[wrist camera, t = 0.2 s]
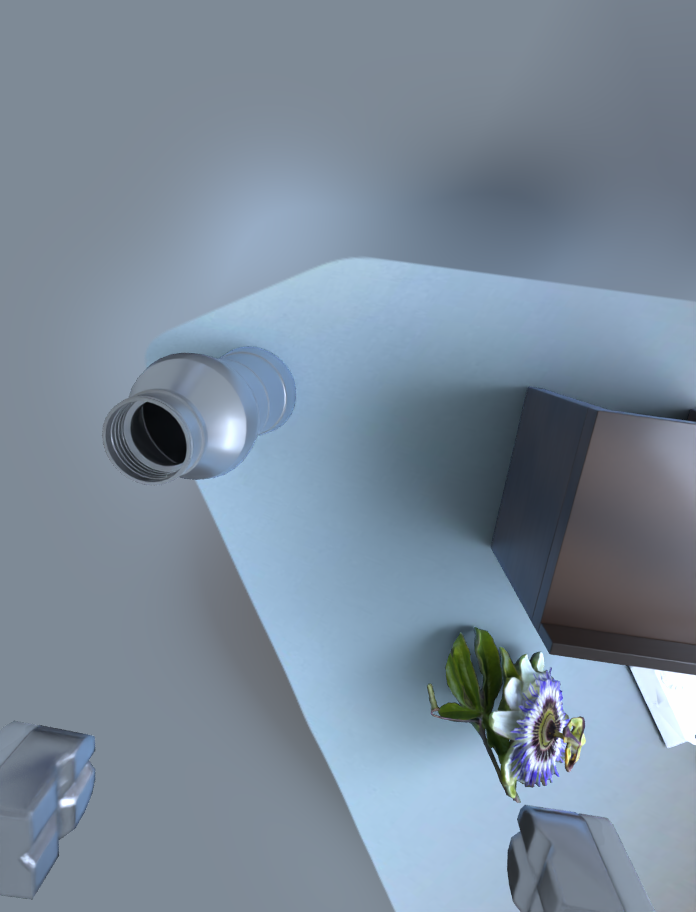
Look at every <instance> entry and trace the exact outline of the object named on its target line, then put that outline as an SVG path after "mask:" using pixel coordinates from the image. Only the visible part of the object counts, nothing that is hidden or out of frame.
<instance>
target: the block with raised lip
mask: <svg viewBox="0 0 696 912" xmlns="http://www.w3.org/2000/svg"><path fill="white" fill-rule="evenodd" d="M491 549H492V551H493V553H494V554H495V556H496V558H497V560H498V562H499V564H500V565H501V567H502V569H503V571H504V573H505V574H506V576H507V578H508V580H509V582H510V583H511V585H512V587H513V589H514V591H515V592H516V594H517V596H518V598H519V600H520V602H521V603H522V605H523V607H524V609H525V611H526V612H527V614H528V616H529V618H530V620H531V621H532V623H533V625H534V627H535V629H536V631H537V633H538V634H539V636H540V638H541V639H542V641H543V643H544V645H545V647H546V648H547V650H548V652H549V654H552V655H559V656H566V657H572V658H579V659H586V660H593V661H600V662H607V663H613V664H620V665H627V666H634V667H641V668H648V669H654V670H661V671H668V672H675V673H682V674H689V675H695V676H696V410H695V409H691V410H690V413H689V417H688V420H687V421H685V420H678V419H671V418H664V417H656V416H649V415H642V414H635V413H628V412H620V411H613V410H608V409H605V408H601V407H598V406H595V405H592V404H589V403H586V402H583V401H580V400H577V399H574V398H571V397H568V396H564V395H561V394H558V393H555V392H552V391H549V390H546V389H543V388H537V387H528V388H527V392H526V397H525V401H524V406H523V410H522V414H521V419H520V423H519V427H518V432H517V436H516V440H515V445H514V449H513V453H512V458H511V462H510V466H509V471H508V475H507V479H506V484H505V488H504V492H503V497H502V501H501V505H500V510H499V514H498V518H497V523H496V527H495V531H494V536H493V540H492V544H491Z"/></svg>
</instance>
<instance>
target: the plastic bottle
mask: <svg viewBox="0 0 696 912" xmlns="http://www.w3.org/2000/svg"><path fill="white" fill-rule="evenodd" d="M295 401H296V386H295V381H294V378H293V376H292V373H291V372H290V370H289V368H288V367H287V366H286V364H285V363H284V362H283V361H282V360H281V359H279V358H278V357H277V356H276V355H274V354H273V353H271V352H269V351H267V350H265V349H262V348H258V347H249V346H247V347H239V348H237V349H234V350H231V351H230V352H228V353H226V354H225V355H223V356H222V357H220V358H219V359H217V358H214V357H211V356H207V355H203V354H194V353H178V354H171V355H168V356H166V357H163V358H160V359H159V360H157V361H155V362H154V363H152V364H151V365H150V366H149V367H148V368H147V369H146V370H145V371H144V372H143V373H142V374H141V375H140V376H139V378H137V380H136V382H135V384H134V385H133V387H132V389H131V392H130V395H129V398H128V399H125V400H123V401H121V402H120V403H118V404H117V405H116V406H114V408H113V409H112V410H111V411H110V412H109V413H108V415H107V417H106V419H105V422H104V425H103V431H102V432H103V433H102V437H103V445H104V448H105V451H106V454H107V456H108V458H109V460H110V461H111V462H112V464H113V465H114V466H115V468H116V469H118V470H119V471H120V472H121V473H122V474H123V475H124V476H126V477H127V478H129V479H131V480H133V481H135V482H137V483H141V484H144V485H162V484H165V483H168V482H171V481H173V480H175V479H177V478H178V477H180V478H184V479H195V480H197V479H209V478H215V477H218V476H222V475H225V474H226V473H228V472H230V471H232V470H233V469H235V468H236V467H237V466H238V465H239V464H240V463H241V462H242V461H243V460H244V459H245V457H246V456H247V455H248V453H249V452H250V450H251V449H252V448H253V445H254V443H255V440H256V438H257V436H258V435H262V434H266V433H269V432H272V431H274V430H276V429H278V428H279V427H281V426H282V425H283V424H284V423H285V422H286V421H287V420H288V418H289V417H290V415H291V414H292V411H293V409H294V406H295Z"/></svg>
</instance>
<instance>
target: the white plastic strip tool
mask: <svg viewBox="0 0 696 912" xmlns="http://www.w3.org/2000/svg"><path fill="white" fill-rule="evenodd" d="M629 667H630V669H631V671H632V673H633V675H634V678H635V680H636V682H637V684H638V686H639V688H640V690H641V693H642V695H643V697H644V699H645V701H646V703H647V705H648V707H649V710H650V712H651V714H652V716H653V718H654V720H655V722H656V725H657V727H658V729H659V731H660V733H661V735H662V737H663V740H664V742H665V744H666V746H667V748H670V747H673V746H676V745H678V744H681V743H684V742H686V741H690V743H691V744H694V745H696V739H695V737H694V735H695V734H696V676H695V675H689V674H682V673H675V672H668V671H661V670H654V669H648V668H641V667H634V666H629Z"/></svg>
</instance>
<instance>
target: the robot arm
mask: <svg viewBox="0 0 696 912" xmlns="http://www.w3.org/2000/svg"><path fill="white" fill-rule="evenodd" d="M94 751H95V737H94V736H92V735H88V734H83V733H77V732H72V731H67V730H62V729H57V728H52V727H47V726H42V725H35V724H29V723H24V722H18V721H13V722H11V723H10V724H8V725H6V726H5V727H3V728H2V729H1V731H0V895H1V896H9V897H16V898H24V899H31V900H32V899H33V897H34V896H35V894H36V893H37V891H38V889H39V888H40V886H41V884H42V883H43V881H44V879H45V878H46V876H47V875H48V873H49V871H50V870H51V868H52V866H53V865H54V863H55V861H56V860H57V858H58V856H59V840H60V839H61V838H63V837H64V836H66V835H67V834H68V833H70V832H71V831H73V830H74V829H75V828H76V826H77V825H78V823H79V821H80V819H81V818H82V816H83V814H84V812H85V810H86V808H87V805H88V803H89V800H90V798H91V795H92V792H93V788H94V782H95V768H94V767H93V765H92V764H91V763H90V761H89V759H90V758H91V756H92V755H93V753H94ZM517 821H518V824H519V828H520V832H518V833H517V834H516V835H514V836H513V837H511V841H510V845H509V849H508V860H507V871H508V879H509V886H510V890H511V895H512V899H513V902H514V904H515V905H516V906H517V908H518V909H519V910H520V912H656V911H655V909H654V907H653V905H652V903H651V901H650V899H649V897H648V895H647V893H646V891H645V889H644V887H643V885H642V883H641V881H640V879H639V877H638V875H637V872H636V870H635V868H634V866H633V864H632V862H631V860H630V858H629V856H628V854H627V852H626V850H625V848H624V846H623V844H622V842H621V840H620V838H619V836H618V834H617V832H616V830H615V827H614V825H613V824H612V823H611V822H610V821H609V819H608V818H604V817H598V816H592V815H586V814H577V813H576V812H570V811H563V810H556V809H550V808H543V807H536V806H529V805H524V806H523V807H522V808H521V809H520V812H519V815H518V818H517Z"/></svg>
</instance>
